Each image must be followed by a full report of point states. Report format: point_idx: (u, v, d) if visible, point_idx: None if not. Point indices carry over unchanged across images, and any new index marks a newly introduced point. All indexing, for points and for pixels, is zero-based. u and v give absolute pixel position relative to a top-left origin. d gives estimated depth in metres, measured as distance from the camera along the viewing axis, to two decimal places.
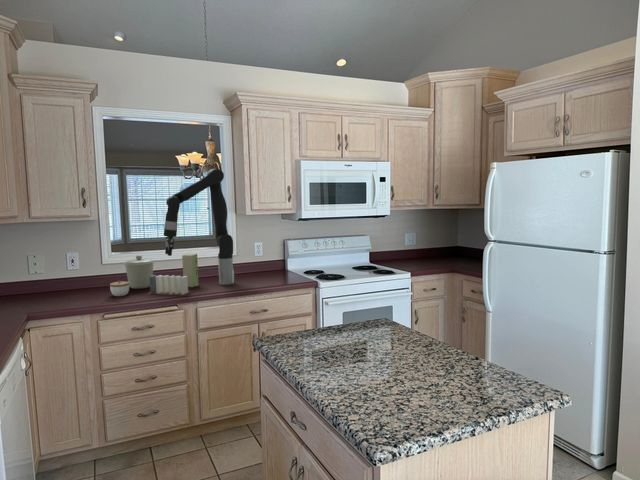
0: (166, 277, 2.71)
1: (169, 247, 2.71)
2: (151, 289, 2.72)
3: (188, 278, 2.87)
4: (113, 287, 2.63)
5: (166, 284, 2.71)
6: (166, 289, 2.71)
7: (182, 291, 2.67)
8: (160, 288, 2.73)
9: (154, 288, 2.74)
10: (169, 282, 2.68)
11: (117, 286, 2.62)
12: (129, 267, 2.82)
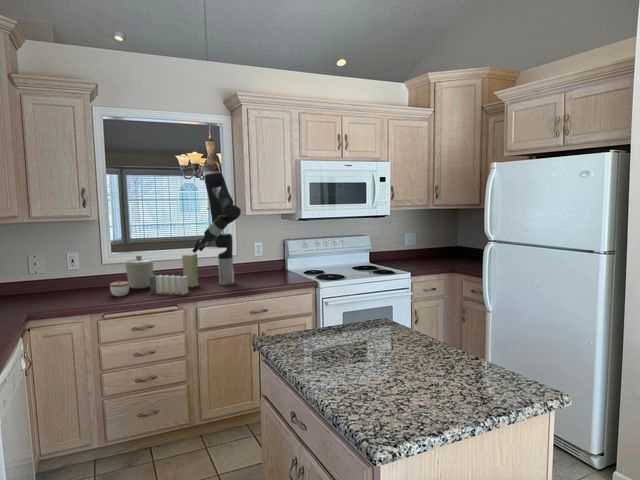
0: (166, 277, 2.71)
1: (208, 244, 2.68)
2: (151, 289, 2.72)
3: (188, 278, 2.87)
4: (113, 287, 2.63)
5: (166, 284, 2.71)
6: (166, 289, 2.71)
7: (182, 291, 2.67)
8: (160, 288, 2.73)
9: (154, 288, 2.74)
10: (169, 282, 2.68)
11: (117, 286, 2.62)
12: (129, 267, 2.82)
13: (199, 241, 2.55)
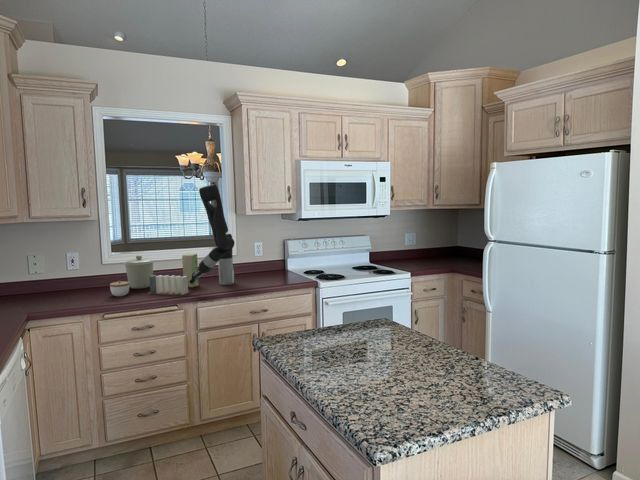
0: (166, 277, 2.71)
1: (199, 277, 2.69)
2: (151, 289, 2.72)
3: (188, 278, 2.87)
4: (113, 287, 2.63)
5: (166, 284, 2.71)
6: (166, 289, 2.71)
7: (182, 291, 2.67)
8: (160, 288, 2.73)
9: (154, 288, 2.74)
10: (169, 282, 2.68)
11: (117, 286, 2.62)
12: (129, 267, 2.82)
13: (193, 275, 2.60)
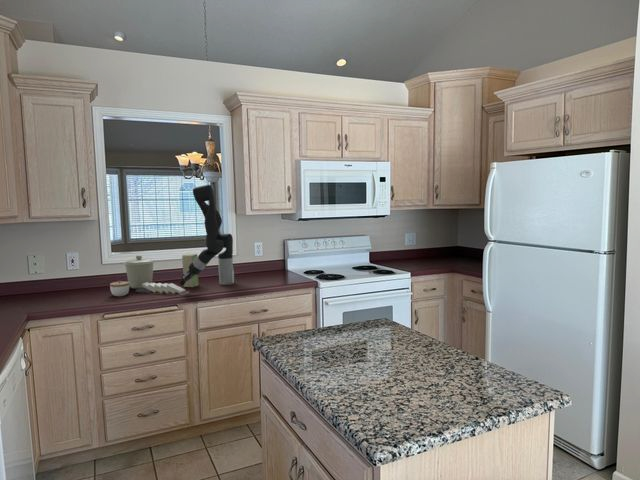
0: (152, 283, 2.74)
1: (189, 279, 2.71)
2: (146, 291, 2.73)
3: None
4: (113, 287, 2.63)
5: None
6: None
7: (178, 291, 2.67)
8: None
9: None
10: (159, 288, 2.71)
11: (117, 286, 2.62)
12: (129, 267, 2.82)
13: (183, 277, 2.62)
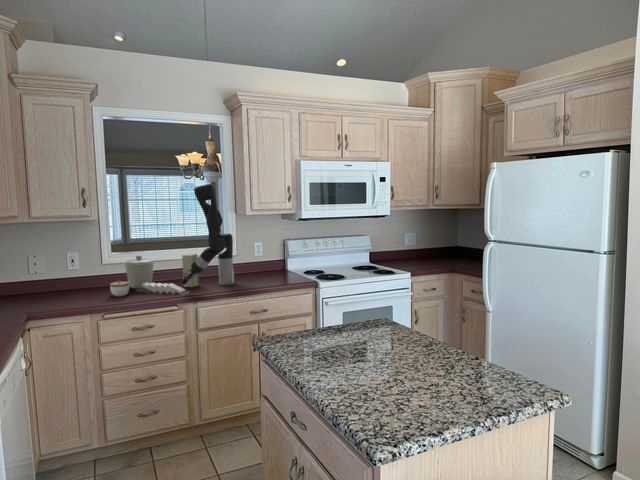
0: (152, 283, 2.74)
1: (192, 277, 2.71)
2: (146, 291, 2.73)
3: None
4: (113, 287, 2.63)
5: None
6: None
7: (178, 291, 2.67)
8: None
9: None
10: (159, 288, 2.71)
11: (117, 286, 2.62)
12: (129, 267, 2.82)
13: (185, 275, 2.61)
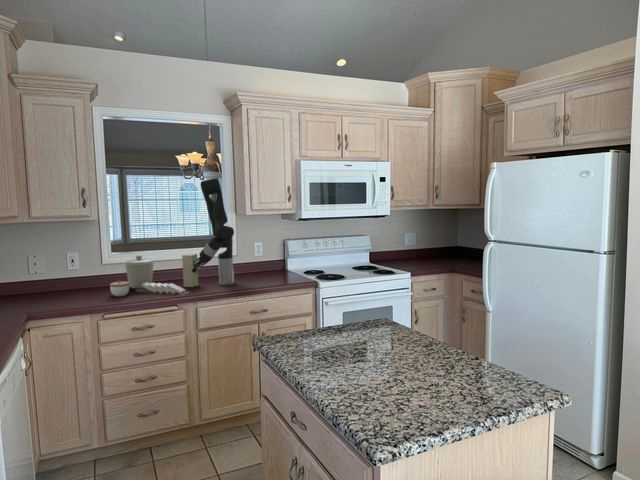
0: (152, 283, 2.74)
1: None
2: (146, 291, 2.73)
3: (188, 278, 2.87)
4: (113, 287, 2.63)
5: None
6: None
7: (178, 291, 2.67)
8: None
9: None
10: (159, 288, 2.71)
11: (117, 286, 2.62)
12: (129, 267, 2.82)
13: (194, 263, 2.60)
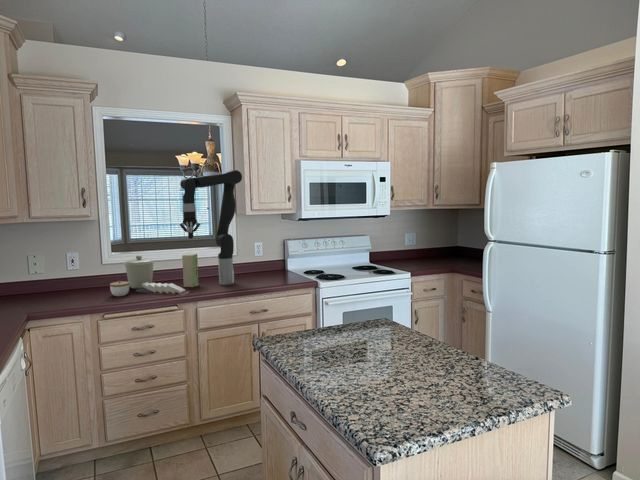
0: (152, 283, 2.74)
1: None
2: (146, 291, 2.73)
3: (188, 278, 2.87)
4: (113, 287, 2.63)
5: None
6: None
7: (178, 291, 2.67)
8: None
9: None
10: (159, 288, 2.71)
11: (117, 286, 2.62)
12: (129, 267, 2.82)
13: None
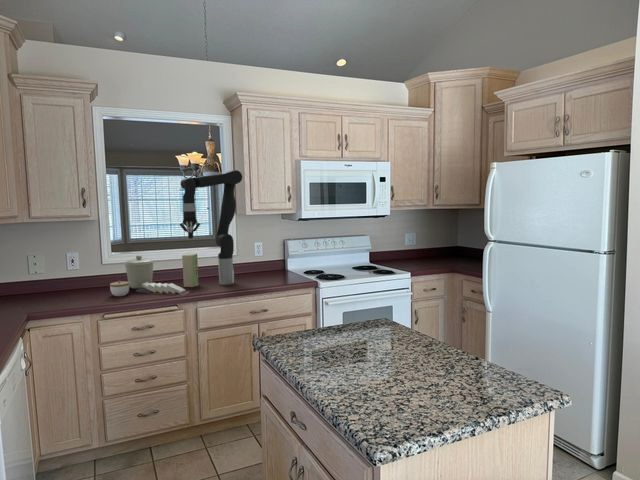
0: (152, 283, 2.74)
1: (195, 230, 2.79)
2: (146, 291, 2.73)
3: (188, 278, 2.87)
4: (113, 287, 2.63)
5: None
6: None
7: (178, 291, 2.67)
8: None
9: None
10: (159, 288, 2.71)
11: (117, 286, 2.62)
12: (129, 267, 2.82)
13: None
